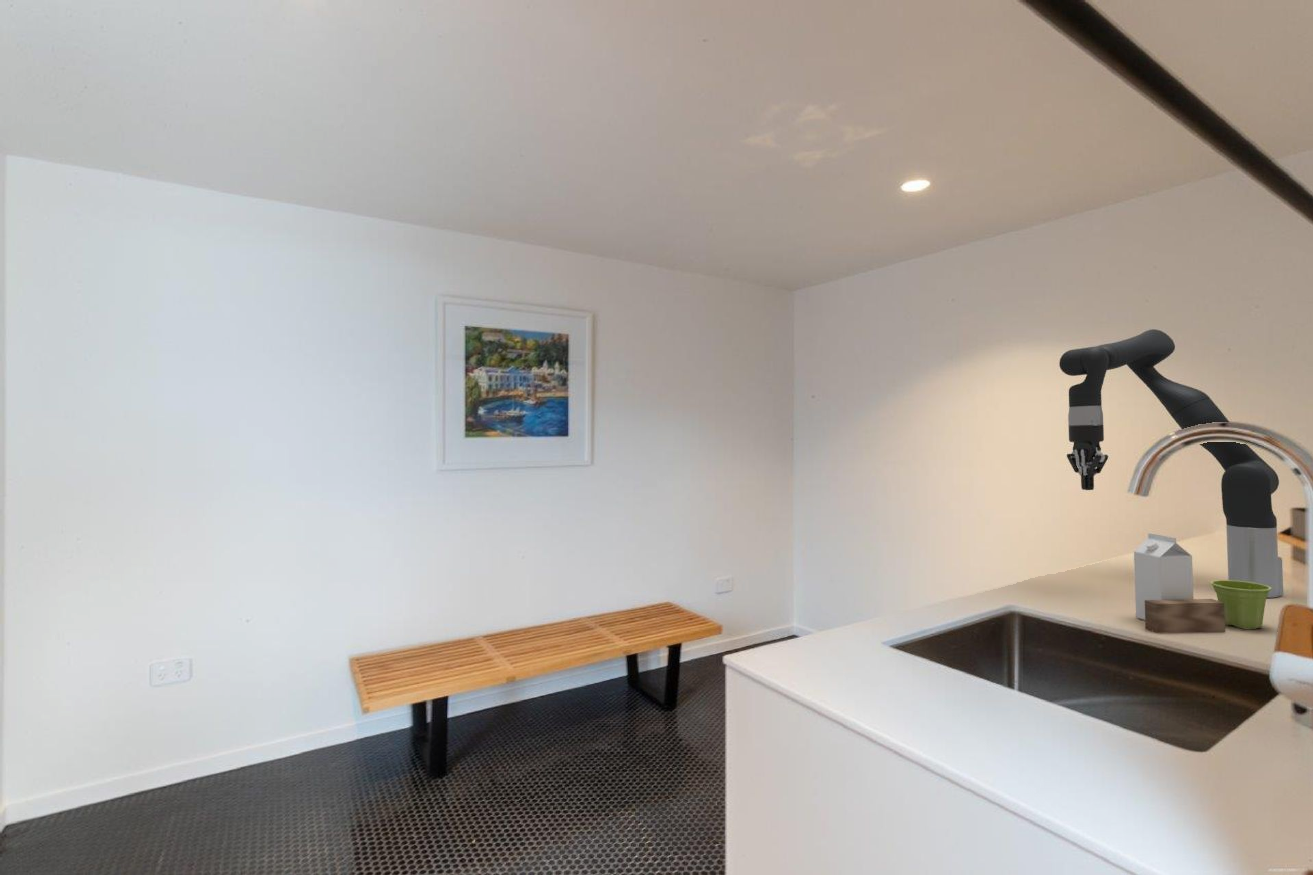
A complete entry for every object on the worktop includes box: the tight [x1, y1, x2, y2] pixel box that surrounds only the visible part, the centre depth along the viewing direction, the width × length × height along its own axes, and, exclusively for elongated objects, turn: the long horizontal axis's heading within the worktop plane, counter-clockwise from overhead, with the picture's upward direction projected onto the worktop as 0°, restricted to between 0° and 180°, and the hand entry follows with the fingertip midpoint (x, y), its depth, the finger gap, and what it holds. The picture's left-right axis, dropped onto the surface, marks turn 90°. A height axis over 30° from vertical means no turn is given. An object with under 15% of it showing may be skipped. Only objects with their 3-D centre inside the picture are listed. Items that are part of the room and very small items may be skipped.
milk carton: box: [1133, 532, 1194, 621], centre depth 134 cm, size 7×7×19 cm
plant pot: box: [1210, 579, 1271, 630], centre depth 130 cm, size 9×9×9 cm
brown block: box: [1144, 598, 1226, 633], centre depth 128 cm, size 14×3×6 cm, turn 89°
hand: (1087, 489), depth 160 cm, fingers closed
